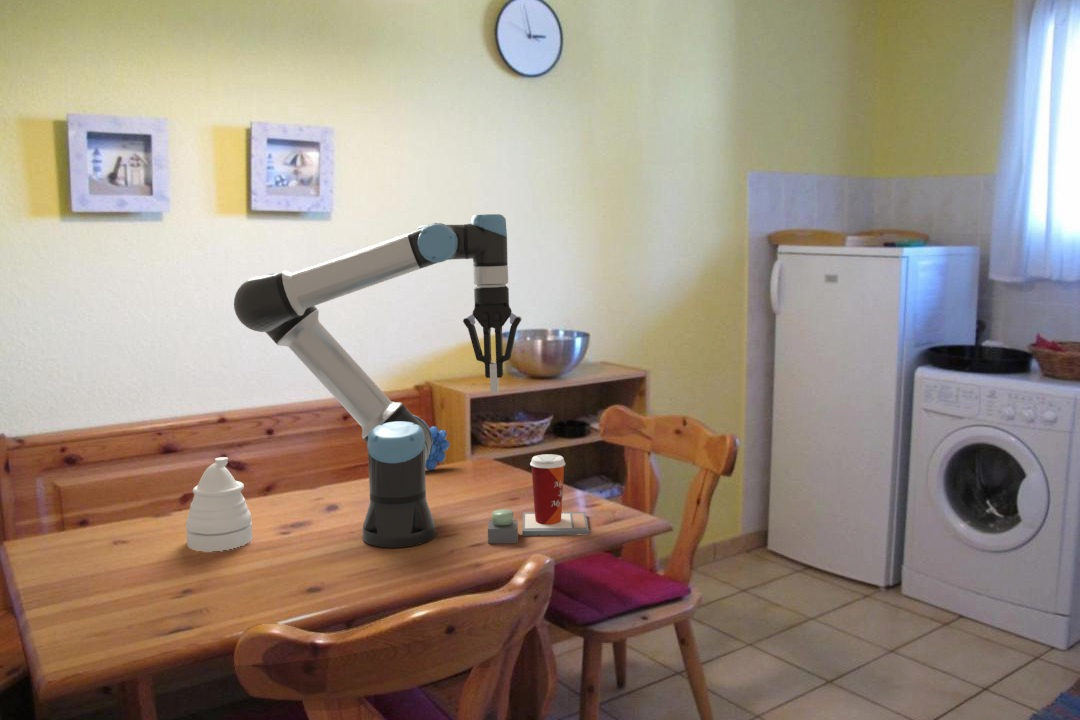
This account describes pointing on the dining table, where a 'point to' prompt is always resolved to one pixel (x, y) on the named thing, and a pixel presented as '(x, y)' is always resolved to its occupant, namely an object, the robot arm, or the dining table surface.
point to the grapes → (437, 448)
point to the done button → (502, 517)
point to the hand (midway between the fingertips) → (494, 392)
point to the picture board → (556, 525)
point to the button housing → (503, 533)
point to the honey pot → (218, 512)
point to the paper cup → (548, 487)
